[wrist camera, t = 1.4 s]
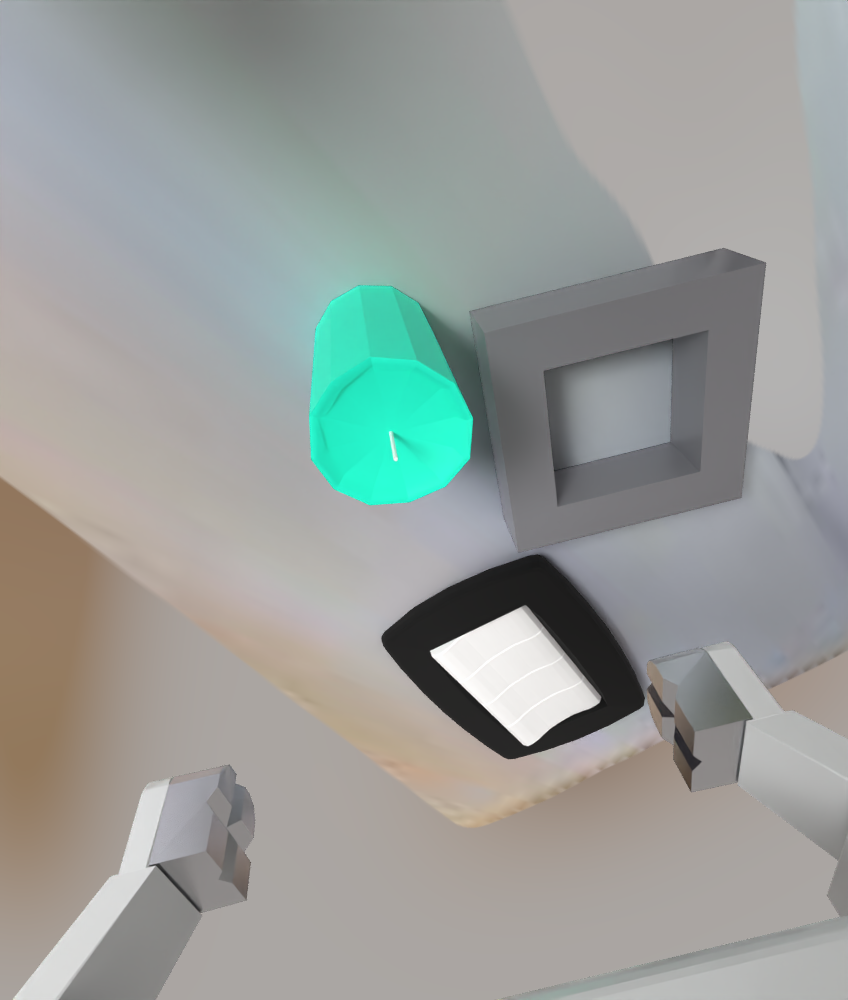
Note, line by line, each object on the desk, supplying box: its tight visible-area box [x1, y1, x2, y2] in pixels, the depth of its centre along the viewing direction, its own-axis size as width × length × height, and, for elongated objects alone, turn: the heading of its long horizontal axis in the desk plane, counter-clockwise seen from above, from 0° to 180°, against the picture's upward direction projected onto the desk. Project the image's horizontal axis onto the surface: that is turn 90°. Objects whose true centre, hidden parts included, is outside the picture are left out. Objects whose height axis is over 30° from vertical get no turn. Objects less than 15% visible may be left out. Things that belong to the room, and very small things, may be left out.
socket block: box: [470, 248, 766, 553], centre depth 32 cm, size 13×13×4 cm
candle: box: [309, 285, 473, 505], centre depth 25 cm, size 6×6×12 cm
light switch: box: [382, 555, 645, 759], centre depth 44 cm, size 20×3×14 cm
